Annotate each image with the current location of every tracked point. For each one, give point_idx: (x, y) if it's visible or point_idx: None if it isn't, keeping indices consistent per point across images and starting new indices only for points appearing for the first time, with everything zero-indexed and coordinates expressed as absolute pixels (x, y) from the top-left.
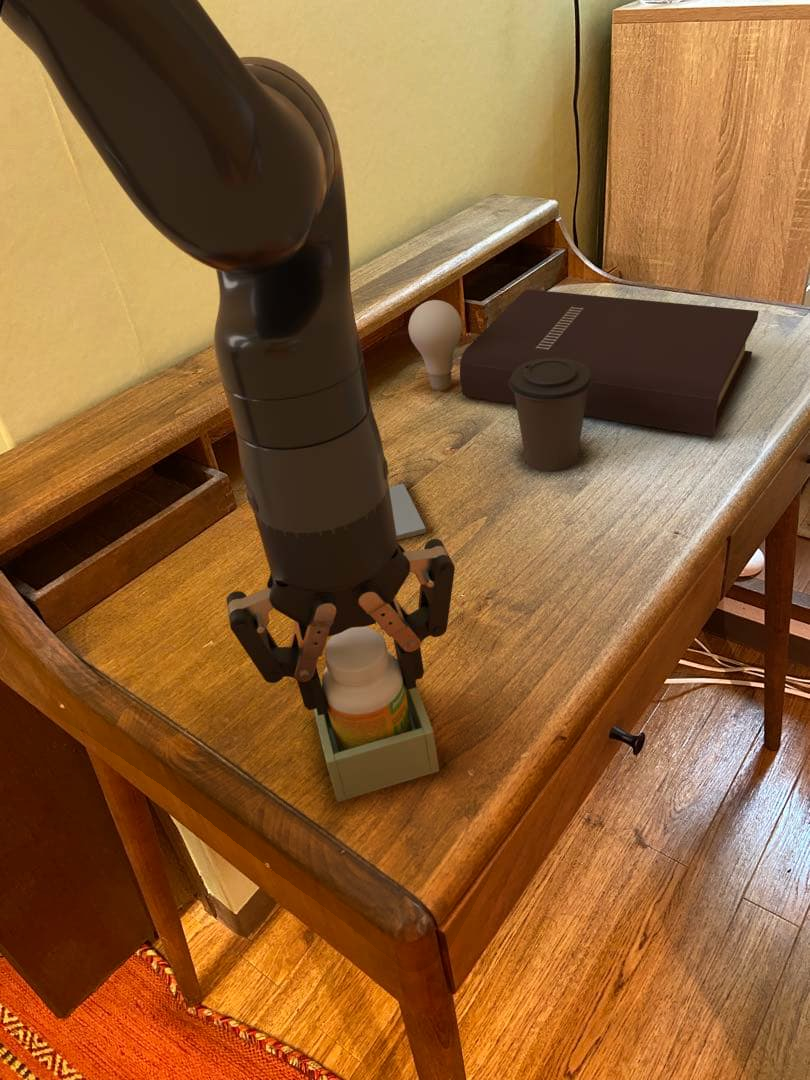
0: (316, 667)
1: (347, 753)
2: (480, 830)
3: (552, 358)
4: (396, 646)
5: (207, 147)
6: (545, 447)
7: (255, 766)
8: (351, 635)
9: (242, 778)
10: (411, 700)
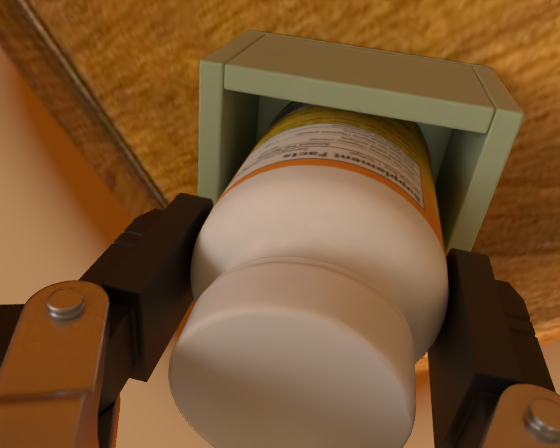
0: (143, 348)
1: None
2: (419, 368)
3: None
4: (455, 379)
5: None
6: None
7: (102, 77)
8: (294, 358)
9: (77, 92)
10: (444, 239)
